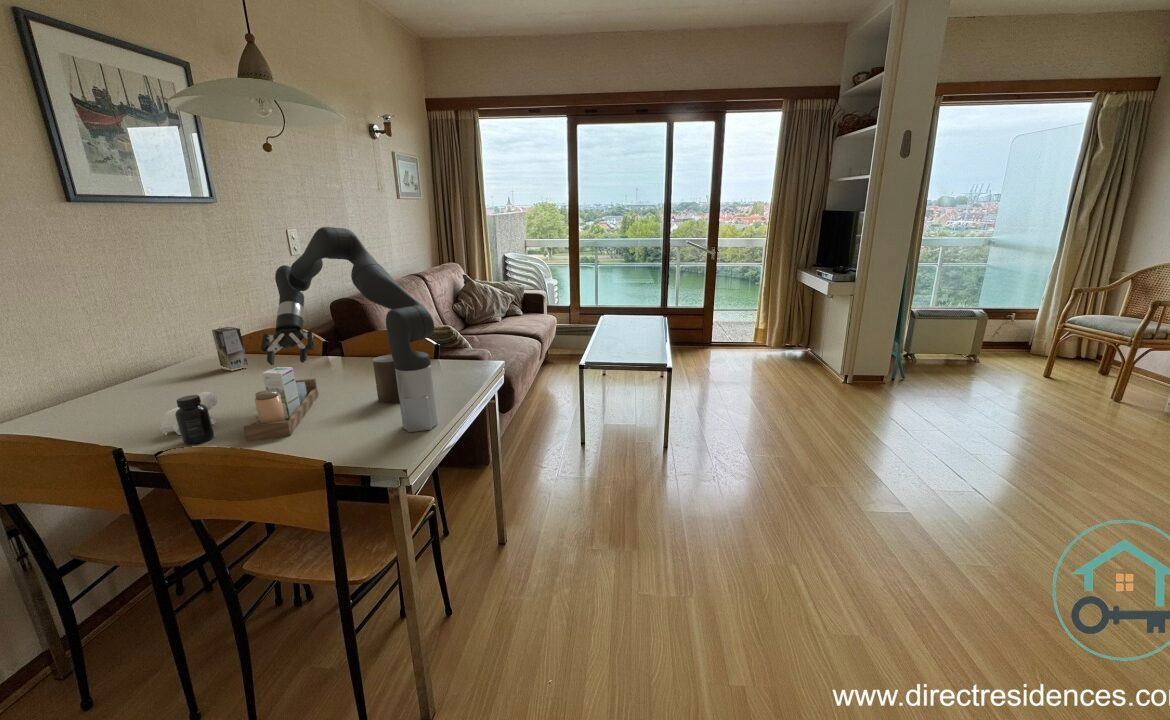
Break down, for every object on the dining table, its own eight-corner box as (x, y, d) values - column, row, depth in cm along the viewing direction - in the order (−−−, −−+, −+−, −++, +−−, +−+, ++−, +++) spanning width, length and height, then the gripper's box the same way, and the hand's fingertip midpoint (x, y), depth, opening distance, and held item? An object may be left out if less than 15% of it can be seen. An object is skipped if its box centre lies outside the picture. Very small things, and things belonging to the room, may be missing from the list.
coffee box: (249, 367, 196) (240, 328, 192) (231, 372, 191) (221, 331, 187) (238, 364, 201) (229, 326, 196) (220, 368, 196) (211, 329, 191)
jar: (284, 433, 134) (276, 394, 131) (258, 436, 133) (250, 397, 130) (289, 425, 140) (281, 387, 137) (265, 428, 138) (257, 390, 135)
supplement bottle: (220, 433, 135) (210, 392, 132) (203, 445, 129) (191, 402, 125) (195, 434, 135) (184, 393, 132) (176, 446, 128) (164, 403, 125)
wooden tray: (290, 435, 133) (286, 414, 131) (246, 440, 130) (241, 419, 129) (318, 395, 163) (315, 378, 161) (283, 399, 160) (279, 381, 159)
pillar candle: (405, 403, 154) (399, 357, 150) (373, 404, 154) (367, 358, 150) (414, 393, 163) (408, 349, 159) (384, 394, 163) (378, 350, 159)
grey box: (307, 404, 155) (303, 383, 153) (279, 407, 153) (275, 385, 151) (312, 397, 161) (308, 376, 159) (285, 399, 159) (281, 379, 157)
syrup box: (302, 412, 149) (293, 366, 145) (290, 419, 144) (280, 372, 140) (284, 411, 150) (275, 366, 146) (271, 419, 144) (261, 372, 140)
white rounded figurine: (193, 445, 136) (233, 407, 147) (174, 423, 131) (217, 386, 142) (168, 443, 138) (209, 406, 149) (149, 421, 132) (193, 384, 144)
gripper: (261, 313, 154) (255, 358, 147) (311, 310, 158) (308, 354, 150) (269, 326, 161) (265, 370, 153) (317, 323, 164) (315, 366, 157)
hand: (286, 362), depth 152 cm, fingers open, 8 cm apart
